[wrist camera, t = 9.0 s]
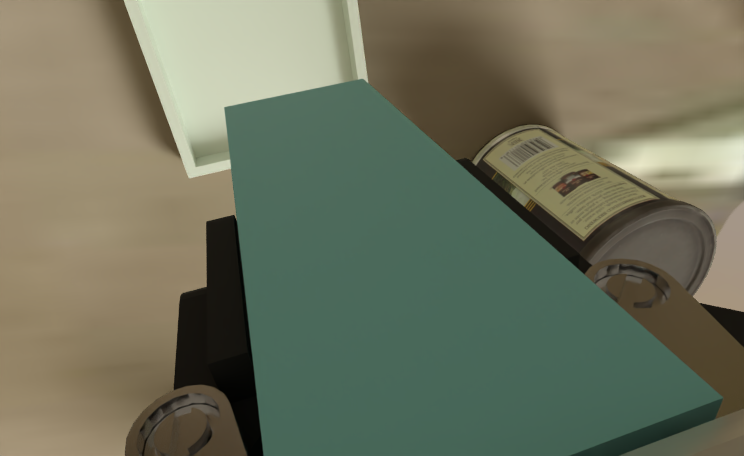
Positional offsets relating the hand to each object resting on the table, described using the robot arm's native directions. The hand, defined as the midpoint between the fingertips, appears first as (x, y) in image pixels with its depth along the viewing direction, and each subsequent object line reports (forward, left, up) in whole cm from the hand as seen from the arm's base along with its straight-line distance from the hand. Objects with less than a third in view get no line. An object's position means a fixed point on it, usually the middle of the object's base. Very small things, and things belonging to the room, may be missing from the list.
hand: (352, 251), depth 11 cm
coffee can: (-18, +14, -23) cm, 33 cm away
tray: (0, 0, -23) cm, 23 cm away
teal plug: (0, 0, -5) cm, 5 cm away
